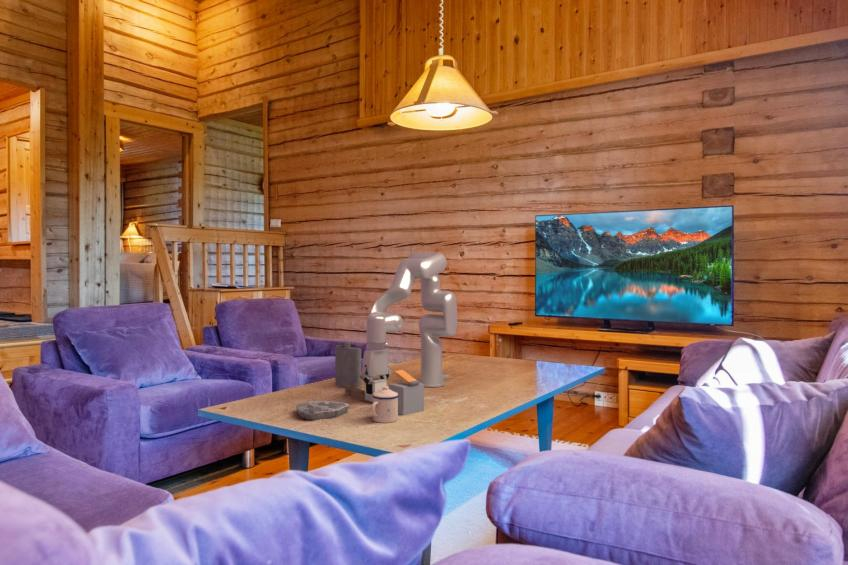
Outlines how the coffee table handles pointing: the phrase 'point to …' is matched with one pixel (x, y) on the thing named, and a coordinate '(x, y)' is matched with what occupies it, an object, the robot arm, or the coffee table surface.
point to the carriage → (375, 387)
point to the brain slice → (321, 409)
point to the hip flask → (347, 365)
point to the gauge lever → (406, 378)
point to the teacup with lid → (385, 405)
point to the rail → (355, 392)
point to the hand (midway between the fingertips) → (375, 392)
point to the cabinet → (409, 397)
